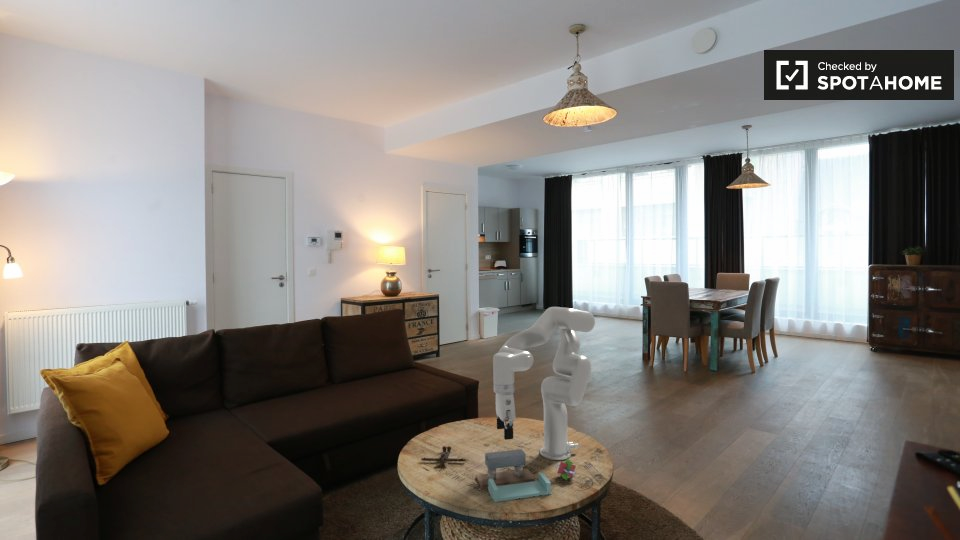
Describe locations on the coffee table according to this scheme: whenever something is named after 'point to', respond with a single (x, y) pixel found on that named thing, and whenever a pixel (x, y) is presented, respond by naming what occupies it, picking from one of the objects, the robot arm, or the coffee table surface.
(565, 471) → the geometric puzzle
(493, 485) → the slot holder
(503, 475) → the peg stand
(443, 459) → the bear figurine
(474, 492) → the coffee table surface
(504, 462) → the steel bar
